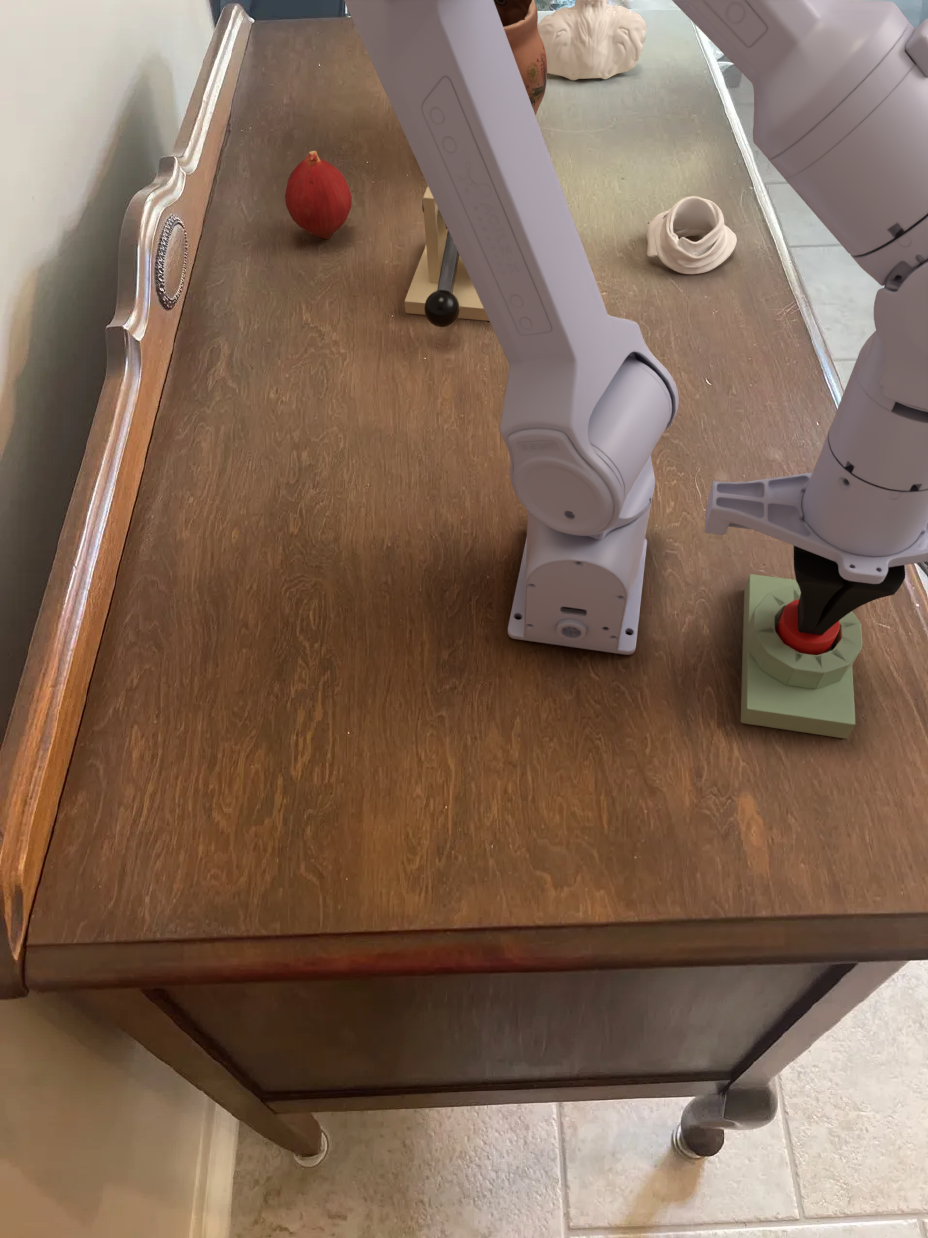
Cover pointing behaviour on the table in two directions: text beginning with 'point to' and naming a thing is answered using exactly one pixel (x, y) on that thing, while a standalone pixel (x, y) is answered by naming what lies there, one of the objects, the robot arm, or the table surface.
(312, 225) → the red squash
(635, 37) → the bust
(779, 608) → the button block
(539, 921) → the table surface
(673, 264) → the beige draped scarf
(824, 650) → the button
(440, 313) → the lever
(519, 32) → the decorative planter
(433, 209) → the beige wooden stand
